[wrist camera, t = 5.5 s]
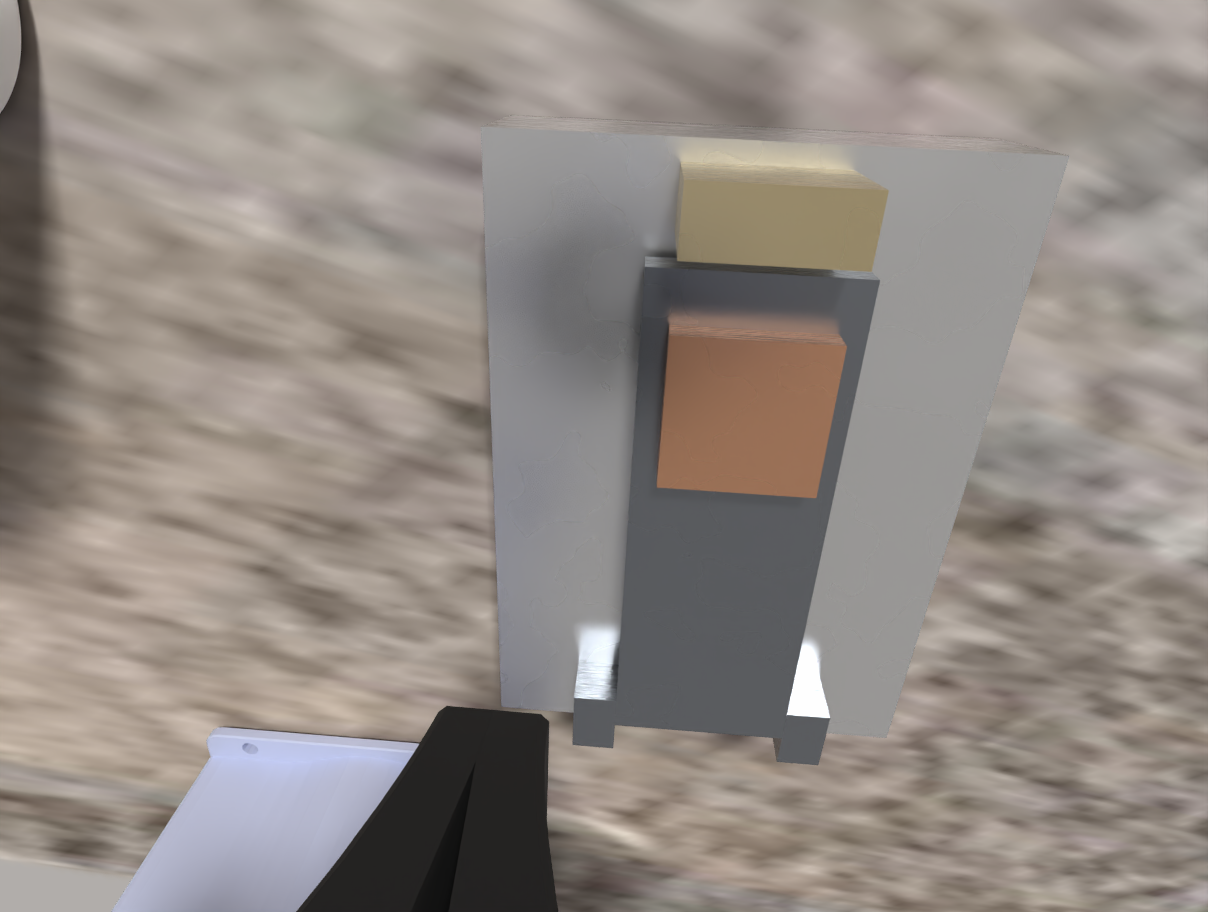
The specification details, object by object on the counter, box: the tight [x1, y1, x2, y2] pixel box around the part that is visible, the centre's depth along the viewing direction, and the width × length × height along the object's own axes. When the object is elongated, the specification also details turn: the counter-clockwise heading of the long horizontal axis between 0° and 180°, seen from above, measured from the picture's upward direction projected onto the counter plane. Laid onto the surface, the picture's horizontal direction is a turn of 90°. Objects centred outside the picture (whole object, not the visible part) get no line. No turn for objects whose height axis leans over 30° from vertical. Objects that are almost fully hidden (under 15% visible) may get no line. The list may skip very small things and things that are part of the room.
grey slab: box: [615, 256, 880, 739], centre depth 15 cm, size 4×11×1 cm, turn 178°
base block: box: [481, 115, 1069, 765], centre depth 16 cm, size 10×14×5 cm
